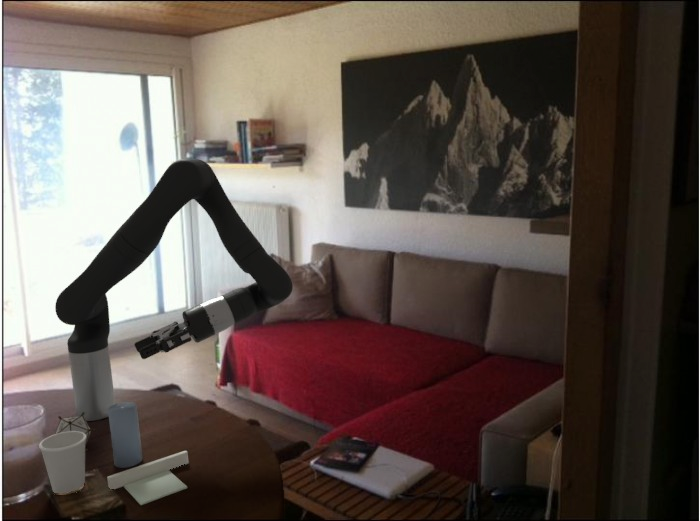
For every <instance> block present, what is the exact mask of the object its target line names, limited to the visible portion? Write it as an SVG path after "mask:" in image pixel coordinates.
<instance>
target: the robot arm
mask: <svg viewBox="0 0 700 521" xmlns="http://www.w3.org/2000/svg"><path fill="white" fill-rule="evenodd" d="M192 200H194V201H195V202H197V204H198V205H200V206H201V208H203V209H204V211H205V213H206V214H207V215H208V216H209V218H210V220H211V221H212V223H213V225H214V227H215V229H216V232H217V233H218V236H219V239H220V240H221V243H222V245H223V247H224V248H225V250H226V252H228V254H229V255H230V256H231V258H232V259H233V261H234V262H235V263H236V265H238V267H239V269H241V270H242V272H244V273H245V274H249V275H250V276H251V278H252V279H253V281H255V282H254V283H251V284H249V285H247V286H245V287H238V288H236V289H233V290H231V291H228V292H227V293H224V294H221V295H219V296H217V297H214V298H211V299H209V300H206V301H204V302H201V303H199V304H196V305H195V306H193V307H191V308H189V309H188V308H187V309H186V310H184V311H183V312H182V314H181V316H182V318H183V322H181V323H178V322H179V321H174V322H172V323H170V324H168V325H165V326H164V327H161V328H159V329H156V330H152V332H151V334H150V335H149V336H147V337H145V338H143V339H140V340H138V341H136V342H134V345H133V346H134V347H135V349H136V351H137V352H138V353H139V355H140V357H141V359H142V360H146V359H148V358H151V357H152V356H155V355H156V354H157V355H158V354H159V353H168V352H170V351H173V350H174V349H177V348H179V347H181V346H183V345H185V344H187V343H189V342H191V341H192V340H193V341H194V343H197V344H198V343H200V342H202V341H205V340H207V339H209V338H211V337H213V336H215V335H217V334H220V333H221V332H223V331H225V330H226V331H227V329H229V328H230V327H232V326H234V325H236V324H237V323H240V322H242V321H244V320H247V319H248V318H250V317H252V316H253V315H255V314H257V313H260V312H263V311H266V310H268V309H271V308H274V307H276V306H277V305H279V304H281V303H283V302H284V301H286V300H287V299H288V298H289V297H290V296H291V294H292V292H293V287H294V286H293V281H292V279H291V277H290V275H289V273H288V272H287V271H286V270H285V269H284V268H283V267H282V265H281V264H280V263H278V262H277V261H276V259H274V258H273V257H272V256H271V255H270V254H269V253H268V252H267V251H266V249H265V248H264V247H263V245H262V244H261V242H260V241H259V240H258V238H257V237H256V236H255V235H254V234H253V232H252V231H251V230H250V228H249V227H248V225H246V223H245V222H244V220H243V219H242V218H241V216H240V214H239V213H238V212H237V210H236V208H235V207H234V205H233V204H232V202H231V200H230V198H229V197H228V196H227V193H226V192H225V189H224V188H223V187H222V185H221V183H220V181H219V178H218V177H217V175H216V173H215V172H214V169H213V168H212V166H210V165H209V164H208V163H207V162H206V161H205V160H203V159H199V158H198V159H197V158H181V159H178V160H175V161H173V162H172V163H171V164H170V165H169V166H168V167H167V168H166V170H165V171H164V173H163V174H162V175H161V177H160V178H159V180H158V182H157V183H156V185H155V186H154V187H153V188H152V190H151V192H150V193H149V194H148V195H147V197H146V199H145V200H144V201H142V203H141V204H140V205H138V207H137V208H136V209H135V210H134V211H133V212H132V214H130V216H129V217H128V218H127V219H126V221H124V223H122V224H121V226H120V227H119V228H118V229H117V230H116V232H115V233H114V234H113V235H112V236H111V237H110V239H109V240H108V241H107V242H106V243H105V245H104V246H103V248H101V250H100V251H99V252H98V253H97V255H96V256H95V257H94V258H93V260H92V261H91V262H90V264H88V266H87V267H86V268H85V269H84V270H83V272H82V273H80V275H78V276H77V277H76V278H75V279H74V280H73V281H71V283H70V284H69V285H67V287H66V288H64V289H63V290H62V291H61V292H60V293H59V294H58V296H57V299H56V300H55V306H54V308H55V313H56V314H55V315H56V316H57V318H58V320H59V321H60V322H62V323H64V324H65V325H69V326H74V327H73V331H72V333H71V335H70V336H69V338H68V339H67V350H68V351H67V352H68V360H69V366H70V367H69V368H70V373H71V382H72V390H73V397H74V405H75V406H74V407H75V412H76V413H75V414H76V416H80V415H82V413H83V412H84V415H83V417H84V419H85V420H86V422H90V421H91V422H92V421H100V420H103V419H106V418H109V415H108V408H109V407H110V406H112V405H114V404H116V400H115V398H116V397H115V391H114V381H113V373H112V367H111V365H112V364H111V357H110V349H109V336H110V331H111V328H110V312H109V301H108V297H107V295H106V294H107V293H108V292H109V291H110V290H111V289H112V288H113V287H114V286H116V285H118V284H119V283H120V282H122V281H123V280H124V279H125V278H127V277H128V276H129V275H131V274H132V273H133V272H134V271H136V270H137V269H138V268H140V267H141V265H142V264H143V263H144V262H145V261H146V260H147V259H148V257H149V256H151V255H152V253H153V252H154V251H155V250H156V248H157V247H158V245H159V244H160V242H161V240H162V238H163V236H164V234H165V231H166V228H167V227H168V224H169V223H170V221H171V220H172V219H173V217H174V216H175V215H176V214H178V212H179V211H180V210H181V209H182V208H183V207H184V206H185V205H187V204H188V203H189V202H191V201H192Z"/></svg>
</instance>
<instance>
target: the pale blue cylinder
mask: <svg viewBox="0 0 700 521" xmlns="http://www.w3.org/2000/svg"><path fill="white" fill-rule="evenodd" d="M108 415H109V417H108V421H109V430H110V437H111V446H112V454H113V455H112V456H113V462H114V466H115V467H116V468H121V469H126V468H131V467H133V466H137V465H139V464H140V463H141V462H142V461H143V458H144V457H143V451H142V443H141V434H140V425H139V416H138V415H139V414H138V407H137V403H136V402H134V401H122V402H118V403H115V404H114V405H112V406H110V407H109V408H108Z"/></svg>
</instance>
